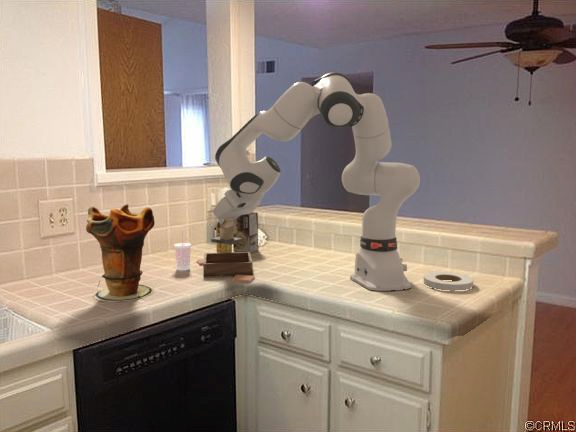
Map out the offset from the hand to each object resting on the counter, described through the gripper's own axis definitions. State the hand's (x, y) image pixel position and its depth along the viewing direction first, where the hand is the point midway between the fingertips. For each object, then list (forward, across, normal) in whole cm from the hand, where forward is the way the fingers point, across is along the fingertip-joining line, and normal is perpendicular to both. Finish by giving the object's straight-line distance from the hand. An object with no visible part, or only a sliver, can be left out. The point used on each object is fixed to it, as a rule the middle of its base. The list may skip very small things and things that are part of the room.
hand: (225, 221), depth 184 cm
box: (+12, 0, +13) cm, 18 cm away
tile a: (+22, -4, +4) cm, 23 cm away
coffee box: (+22, -30, +3) cm, 37 cm away
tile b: (+3, +7, +22) cm, 24 cm away
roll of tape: (-39, -23, +64) cm, 79 cm away
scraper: (+5, 0, +6) cm, 7 cm away
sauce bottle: (+23, -17, +2) cm, 29 cm away
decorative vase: (+19, +39, +7) cm, 44 cm away
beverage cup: (+23, +7, +3) cm, 24 cm away
